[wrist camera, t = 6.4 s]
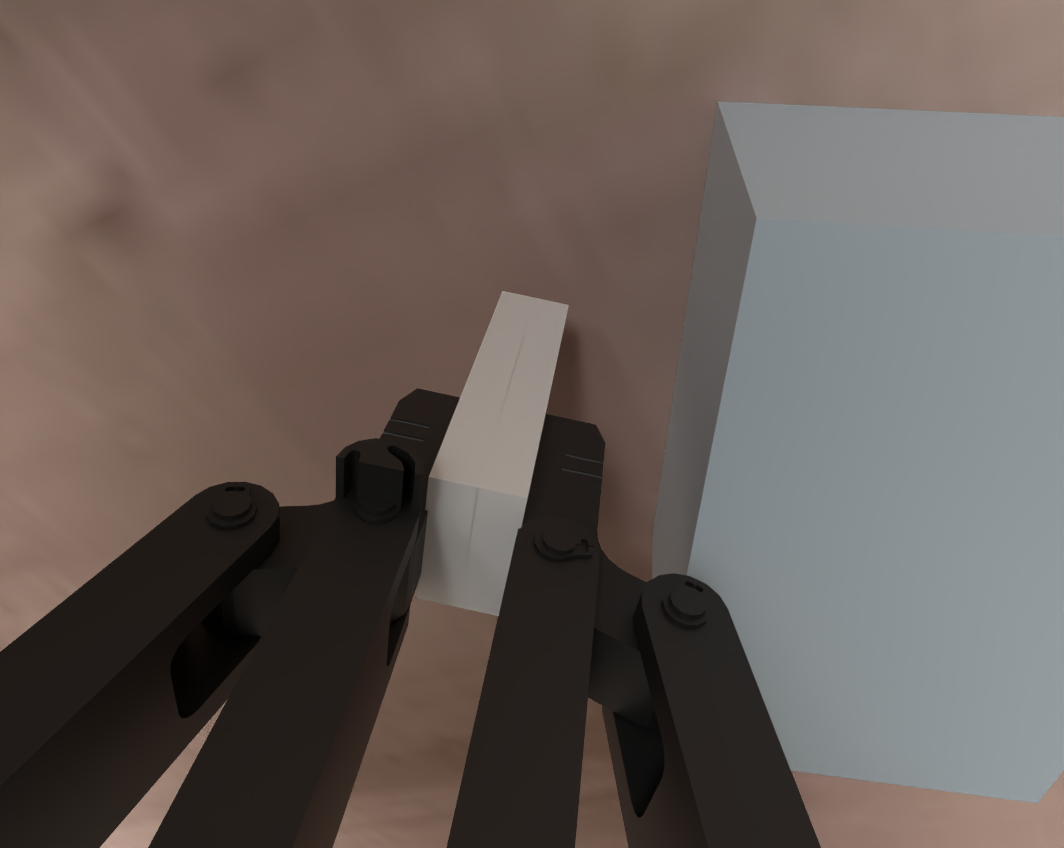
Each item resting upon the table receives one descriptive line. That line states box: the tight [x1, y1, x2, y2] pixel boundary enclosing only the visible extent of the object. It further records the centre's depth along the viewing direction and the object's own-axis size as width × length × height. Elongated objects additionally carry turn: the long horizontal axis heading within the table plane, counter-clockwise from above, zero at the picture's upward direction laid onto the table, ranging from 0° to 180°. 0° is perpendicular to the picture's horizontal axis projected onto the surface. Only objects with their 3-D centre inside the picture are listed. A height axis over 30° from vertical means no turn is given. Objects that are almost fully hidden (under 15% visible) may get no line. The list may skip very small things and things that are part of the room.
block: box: [652, 101, 1064, 803], centre depth 15 cm, size 8×12×7 cm, turn 179°
